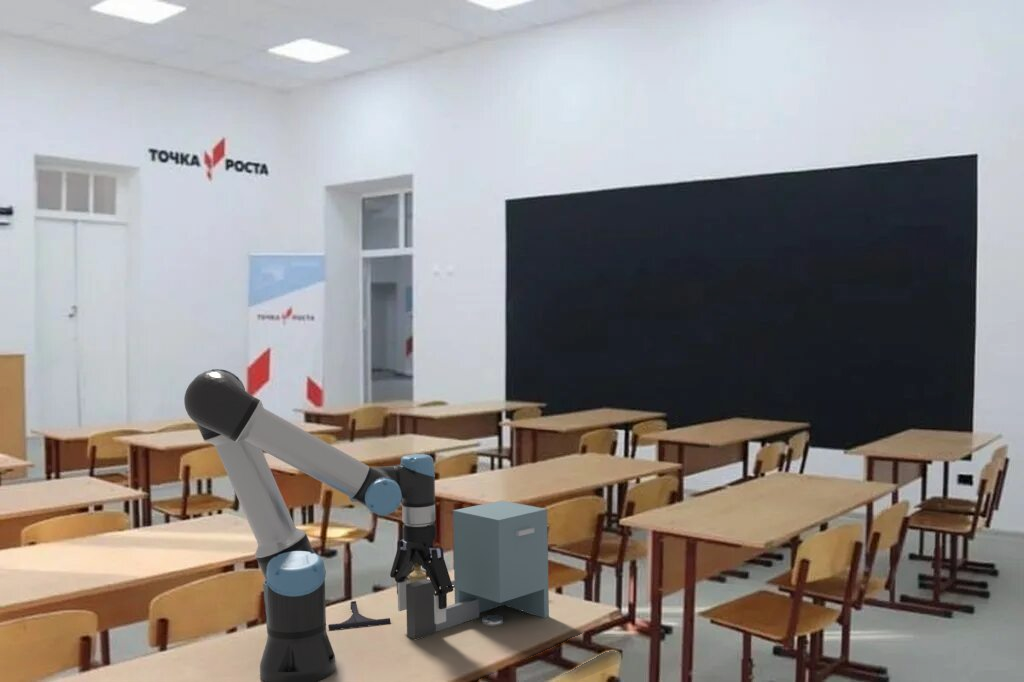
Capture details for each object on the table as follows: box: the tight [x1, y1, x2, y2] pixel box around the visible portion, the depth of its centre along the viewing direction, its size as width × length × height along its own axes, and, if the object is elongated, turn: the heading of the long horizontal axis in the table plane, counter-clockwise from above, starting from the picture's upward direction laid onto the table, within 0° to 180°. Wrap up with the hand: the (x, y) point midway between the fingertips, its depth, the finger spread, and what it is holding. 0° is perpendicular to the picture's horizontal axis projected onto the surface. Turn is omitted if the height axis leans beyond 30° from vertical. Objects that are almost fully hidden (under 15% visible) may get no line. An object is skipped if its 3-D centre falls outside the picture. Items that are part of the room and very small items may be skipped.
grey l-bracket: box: [406, 578, 480, 640], centre depth 211 cm, size 20×3×12 cm, turn 134°
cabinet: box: [452, 500, 550, 619], centre depth 217 cm, size 16×17×26 cm
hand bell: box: [408, 563, 428, 583], centre depth 237 cm, size 8×8×16 cm
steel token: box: [481, 614, 504, 627], centre depth 214 cm, size 5×5×1 cm
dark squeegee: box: [327, 600, 392, 631], centre depth 219 cm, size 14×15×3 cm
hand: (421, 616), depth 206 cm, fingers open, 13 cm apart
